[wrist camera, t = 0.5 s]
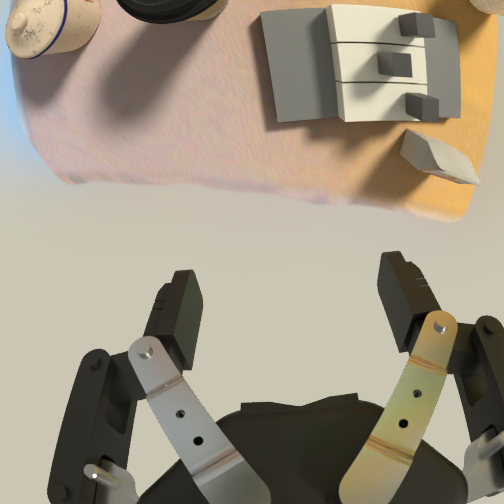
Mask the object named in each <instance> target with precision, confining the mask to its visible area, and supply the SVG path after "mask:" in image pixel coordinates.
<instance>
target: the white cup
mask: <svg viewBox="0 0 504 504" xmlns="http://www.w3.org/2000/svg"><path fill="white" fill-rule="evenodd" d="M469 1H470V3H471V4H472V5H473V6H474V7H476V8H477V9H478V10H479V11H481V12H484V13H486V14H497V15H502V16H504V0H469Z"/></svg>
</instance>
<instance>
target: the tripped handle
mask: <svg viewBox="0 0 504 504" xmlns="http://www.w3.org/2000/svg"><path fill="white" fill-rule="evenodd" d="M377 60H378V71H379V74H383V75H388V76H393V77H408V78H413V76H412V61H411V54H408V53H396V52H377Z"/></svg>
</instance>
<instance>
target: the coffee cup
mask: <svg viewBox="0 0 504 504" xmlns="http://www.w3.org/2000/svg"><path fill="white" fill-rule="evenodd" d="M228 1H229V0H117V2H118V4H119V5H120V6H121V7H122V8H123V9H124V10H125V11H126V12H127V13H128V14H130V15H131V16H133V17H134V18H136V19H138V20H141V21H144V22H148V23H155V24H168V23H175V22H180V21H184V20H185V21H196V20H208V19H211V18H213V17H215V16H216V15H218V14H219V13H220V12H222V10H223V9H224V8H225V7H226V5H227V3H228Z"/></svg>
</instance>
